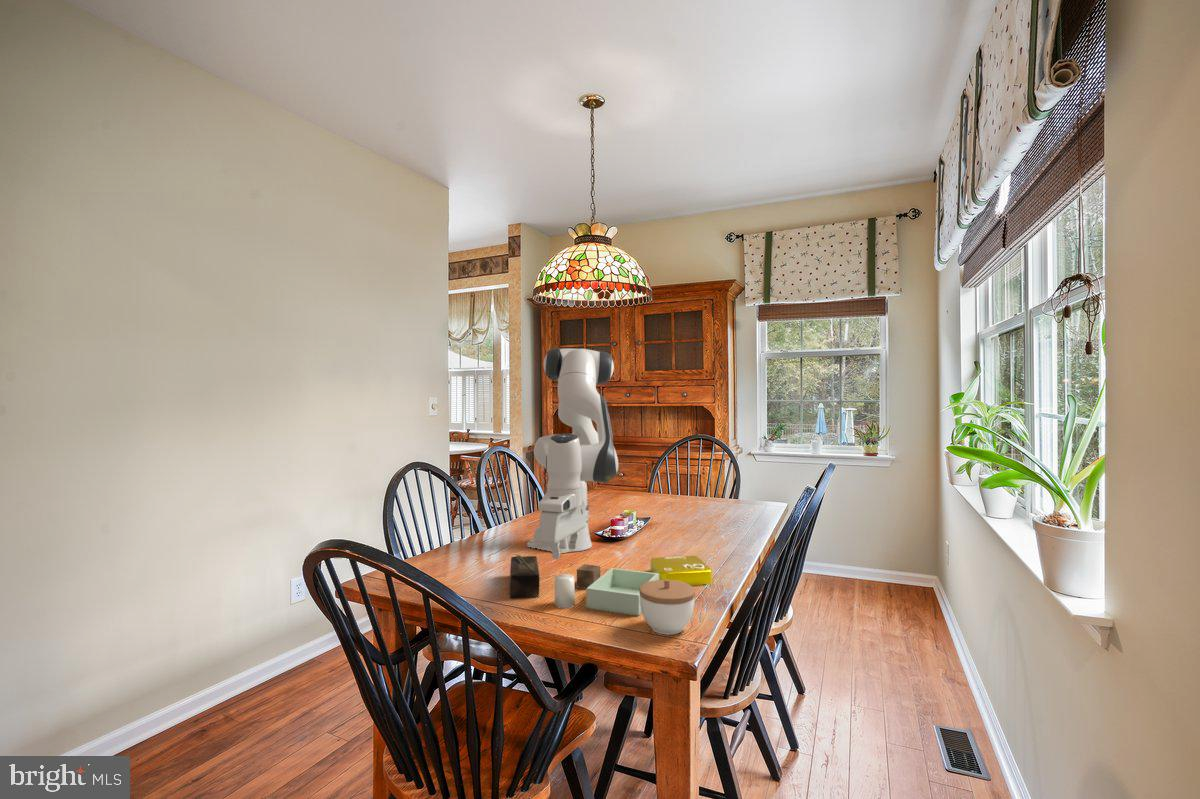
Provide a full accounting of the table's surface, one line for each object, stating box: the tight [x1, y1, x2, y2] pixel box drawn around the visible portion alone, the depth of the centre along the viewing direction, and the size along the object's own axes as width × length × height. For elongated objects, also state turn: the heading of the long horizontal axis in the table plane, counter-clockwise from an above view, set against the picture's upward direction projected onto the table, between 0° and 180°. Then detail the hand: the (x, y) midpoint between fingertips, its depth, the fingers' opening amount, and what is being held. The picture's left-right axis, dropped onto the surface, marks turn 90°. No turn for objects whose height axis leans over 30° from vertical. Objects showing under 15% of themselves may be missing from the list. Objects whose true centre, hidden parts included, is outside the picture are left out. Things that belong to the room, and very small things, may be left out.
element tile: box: [650, 555, 713, 586], centre depth 169 cm, size 15×15×5 cm
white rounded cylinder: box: [554, 573, 576, 609], centre depth 148 cm, size 5×5×7 cm
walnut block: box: [576, 563, 601, 589], centre depth 162 cm, size 5×5×5 cm
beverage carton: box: [509, 554, 541, 599], centre depth 161 cm, size 8×19×7 cm, turn 8°
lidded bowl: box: [639, 579, 696, 636], centre depth 133 cm, size 13×13×11 cm
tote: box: [586, 567, 659, 617], centre depth 151 cm, size 14×18×5 cm
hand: (565, 553), depth 147 cm, fingers open, 8 cm apart
